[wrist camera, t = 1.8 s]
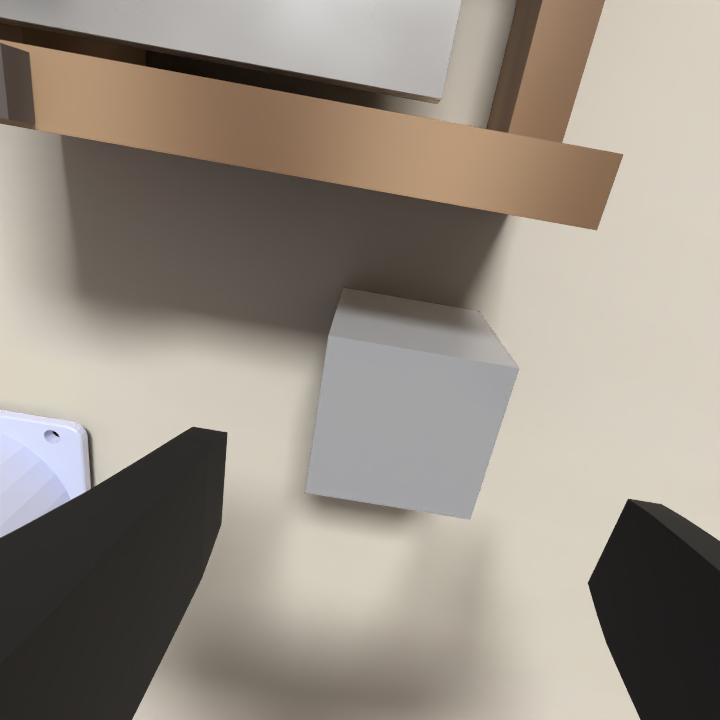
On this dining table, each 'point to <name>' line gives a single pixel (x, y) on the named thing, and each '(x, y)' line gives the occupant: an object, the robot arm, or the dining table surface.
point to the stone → (408, 404)
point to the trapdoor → (273, 36)
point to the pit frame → (337, 120)
